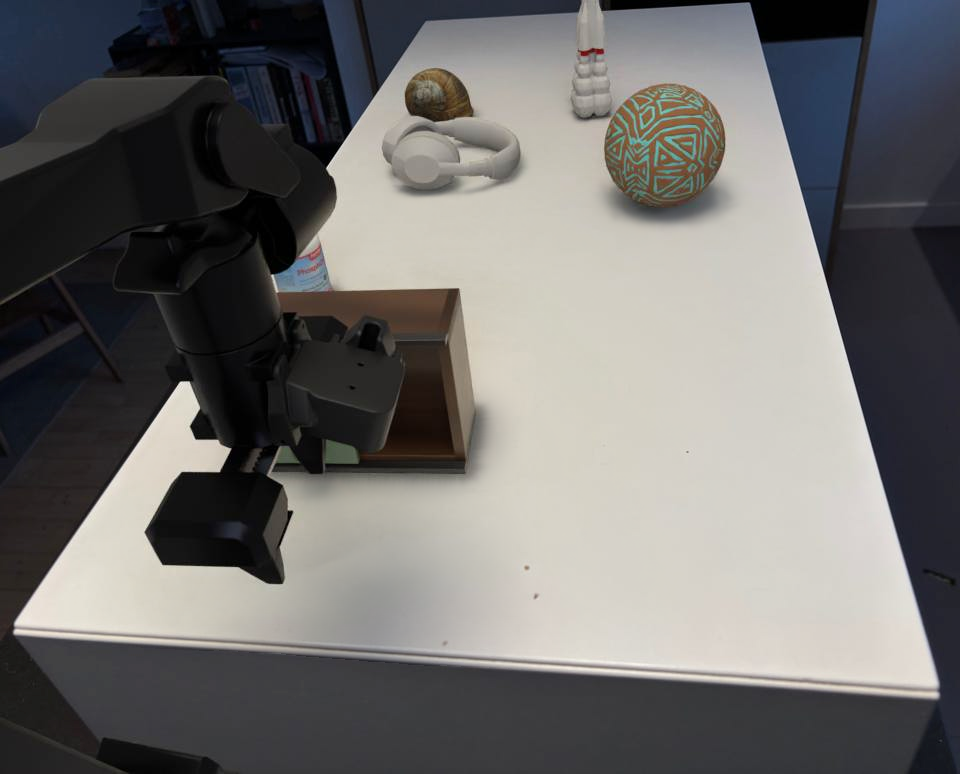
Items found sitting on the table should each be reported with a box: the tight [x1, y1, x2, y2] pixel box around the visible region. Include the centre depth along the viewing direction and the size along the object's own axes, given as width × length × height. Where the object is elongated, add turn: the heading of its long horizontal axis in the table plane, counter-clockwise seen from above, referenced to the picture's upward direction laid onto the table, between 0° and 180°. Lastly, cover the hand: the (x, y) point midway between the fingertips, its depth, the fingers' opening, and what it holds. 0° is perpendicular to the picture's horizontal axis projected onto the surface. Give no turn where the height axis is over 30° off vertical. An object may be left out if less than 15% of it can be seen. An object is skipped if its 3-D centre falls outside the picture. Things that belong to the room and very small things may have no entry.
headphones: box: [381, 115, 522, 191], centre depth 120 cm, size 18×8×20 cm
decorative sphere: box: [603, 83, 726, 208], centre depth 103 cm, size 15×15×15 cm
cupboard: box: [272, 287, 477, 474], centre depth 71 cm, size 8×20×14 cm, turn 84°
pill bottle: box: [273, 233, 333, 292], centre depth 93 cm, size 6×6×11 cm
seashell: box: [404, 67, 474, 122], centre depth 137 cm, size 11×9×8 cm
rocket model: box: [570, 0, 613, 119], centre depth 125 cm, size 7×7×30 cm
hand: (298, 523), depth 52 cm, fingers open, 9 cm apart
